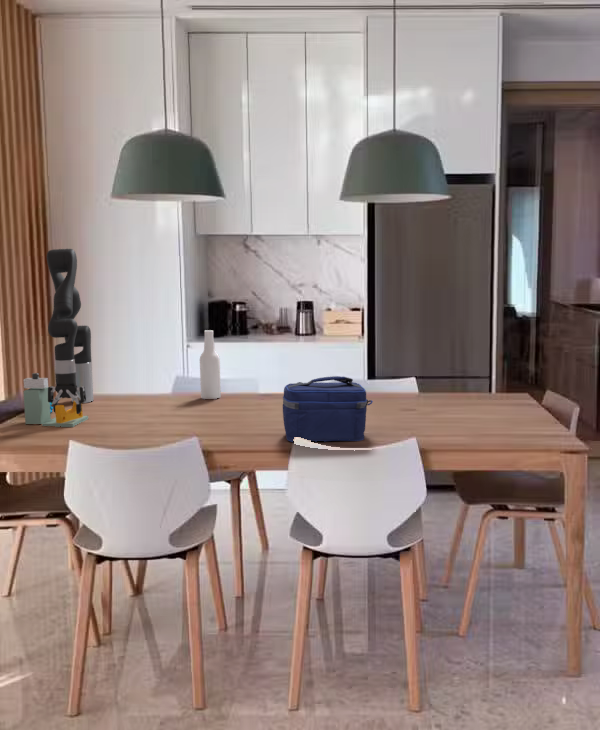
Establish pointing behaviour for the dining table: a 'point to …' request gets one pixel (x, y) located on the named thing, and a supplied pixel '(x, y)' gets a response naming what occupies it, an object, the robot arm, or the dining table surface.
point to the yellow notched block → (66, 413)
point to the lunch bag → (325, 410)
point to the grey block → (35, 382)
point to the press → (43, 409)
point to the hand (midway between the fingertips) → (67, 413)
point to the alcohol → (210, 369)
